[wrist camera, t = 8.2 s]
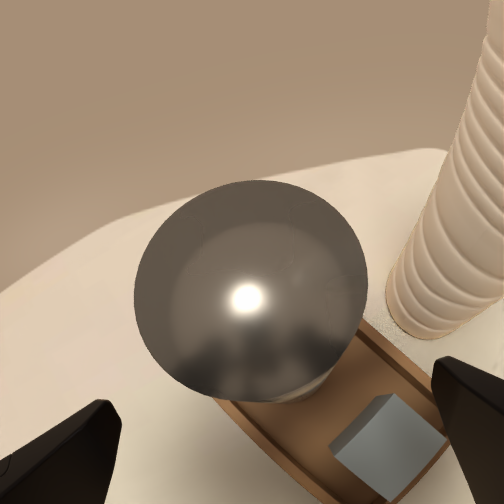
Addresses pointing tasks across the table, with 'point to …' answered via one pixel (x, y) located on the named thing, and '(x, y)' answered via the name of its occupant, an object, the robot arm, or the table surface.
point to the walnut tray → (338, 418)
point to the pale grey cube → (387, 445)
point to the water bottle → (460, 214)
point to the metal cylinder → (251, 292)
